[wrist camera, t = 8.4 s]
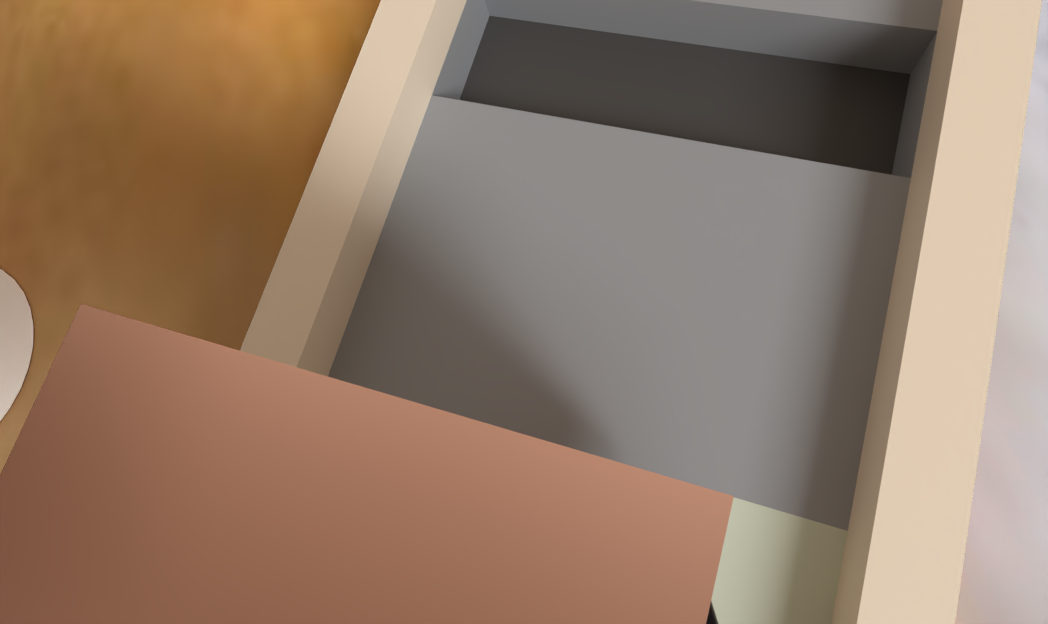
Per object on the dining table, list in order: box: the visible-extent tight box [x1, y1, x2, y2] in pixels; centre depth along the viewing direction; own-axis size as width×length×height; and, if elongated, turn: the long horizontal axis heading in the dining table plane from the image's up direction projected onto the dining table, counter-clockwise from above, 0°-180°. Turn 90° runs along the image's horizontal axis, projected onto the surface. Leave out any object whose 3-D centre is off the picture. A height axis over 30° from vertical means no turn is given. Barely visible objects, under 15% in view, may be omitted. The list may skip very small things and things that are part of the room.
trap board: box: [240, 0, 1042, 624], centre depth 15 cm, size 24×15×4 cm, turn 163°
